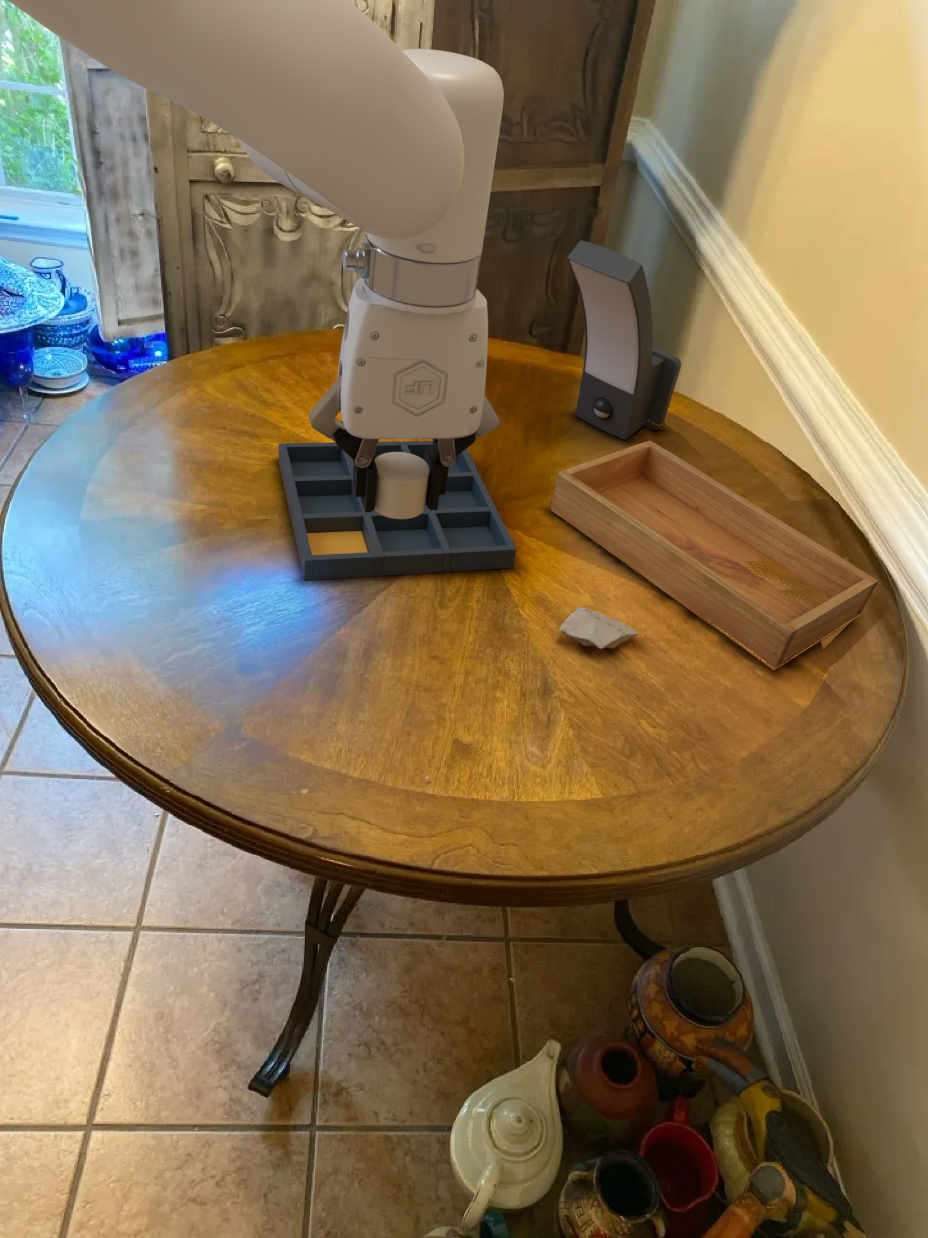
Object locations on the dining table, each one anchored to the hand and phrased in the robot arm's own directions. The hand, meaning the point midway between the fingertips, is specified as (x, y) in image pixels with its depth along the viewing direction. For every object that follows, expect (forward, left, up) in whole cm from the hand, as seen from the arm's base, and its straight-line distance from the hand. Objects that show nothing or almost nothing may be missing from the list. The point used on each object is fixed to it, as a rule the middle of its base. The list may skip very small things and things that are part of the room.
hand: (397, 499), depth 72 cm
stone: (+20, -2, -16) cm, 25 cm away
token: (0, 0, 0) cm, 0 cm away
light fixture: (+35, +36, -16) cm, 53 cm away
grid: (+5, +20, -15) cm, 26 cm away
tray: (+36, +8, -16) cm, 40 cm away
